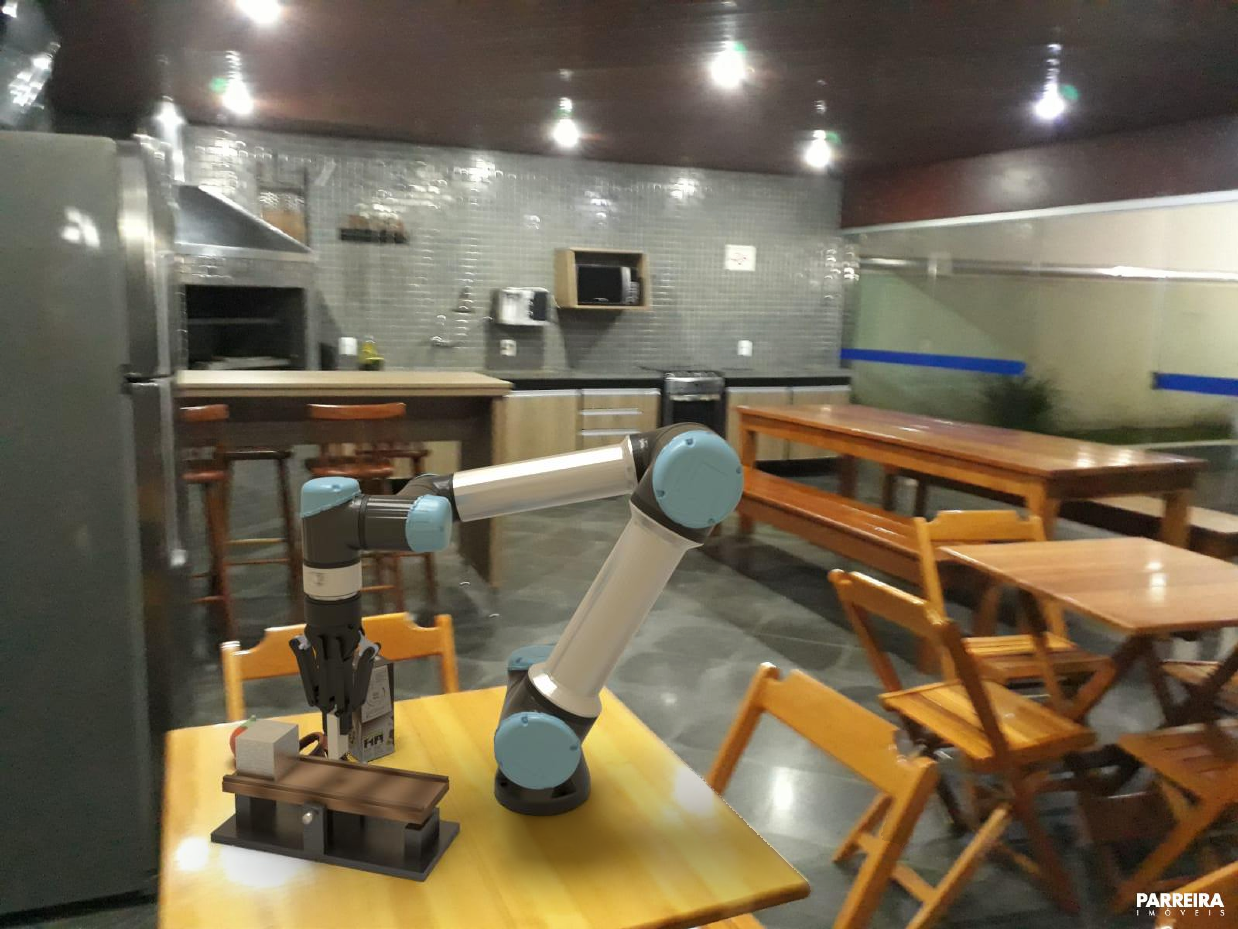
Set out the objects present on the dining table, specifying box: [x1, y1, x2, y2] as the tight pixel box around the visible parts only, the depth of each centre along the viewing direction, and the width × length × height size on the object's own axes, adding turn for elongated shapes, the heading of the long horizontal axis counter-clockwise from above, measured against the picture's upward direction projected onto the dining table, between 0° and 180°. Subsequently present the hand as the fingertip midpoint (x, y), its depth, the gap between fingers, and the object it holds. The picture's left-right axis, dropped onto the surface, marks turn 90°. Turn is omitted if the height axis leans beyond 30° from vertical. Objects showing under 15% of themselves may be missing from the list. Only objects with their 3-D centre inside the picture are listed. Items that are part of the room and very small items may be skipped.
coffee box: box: [335, 649, 395, 763], centre depth 147 cm, size 9×6×16 cm
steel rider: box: [235, 718, 301, 782], centre depth 123 cm, size 6×6×6 cm
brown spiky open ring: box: [299, 731, 349, 761], centre depth 139 cm, size 12×10×8 cm
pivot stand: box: [210, 761, 461, 883], centre depth 122 cm, size 32×15×8 cm, turn 77°
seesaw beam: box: [221, 753, 450, 824], centre depth 122 cm, size 30×9×2 cm, turn 77°
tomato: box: [229, 714, 262, 759], centre depth 142 cm, size 7×7×8 cm
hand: (338, 754), depth 121 cm, fingers closed
